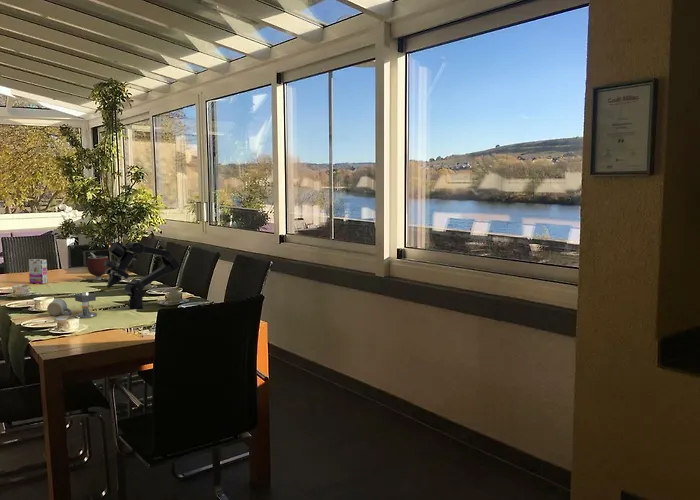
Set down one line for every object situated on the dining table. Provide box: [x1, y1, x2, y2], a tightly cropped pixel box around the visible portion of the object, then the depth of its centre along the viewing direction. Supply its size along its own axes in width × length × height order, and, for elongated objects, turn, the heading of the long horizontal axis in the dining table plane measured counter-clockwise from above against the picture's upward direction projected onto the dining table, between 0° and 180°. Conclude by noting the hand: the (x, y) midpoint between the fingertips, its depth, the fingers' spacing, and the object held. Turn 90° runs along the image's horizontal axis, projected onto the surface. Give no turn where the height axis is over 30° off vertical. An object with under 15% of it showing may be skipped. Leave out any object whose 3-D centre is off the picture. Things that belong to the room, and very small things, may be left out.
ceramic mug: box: [46, 298, 73, 317], centre depth 304 cm, size 11×8×8 cm
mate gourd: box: [86, 252, 110, 280], centre depth 415 cm, size 16×14×20 cm
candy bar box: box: [28, 258, 49, 285], centre depth 405 cm, size 11×5×16 cm, turn 73°
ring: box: [74, 292, 97, 303], centre depth 300 cm, size 7×7×3 cm
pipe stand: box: [74, 291, 98, 319], centre depth 301 cm, size 10×10×12 cm
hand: (107, 287), depth 310 cm, fingers closed
